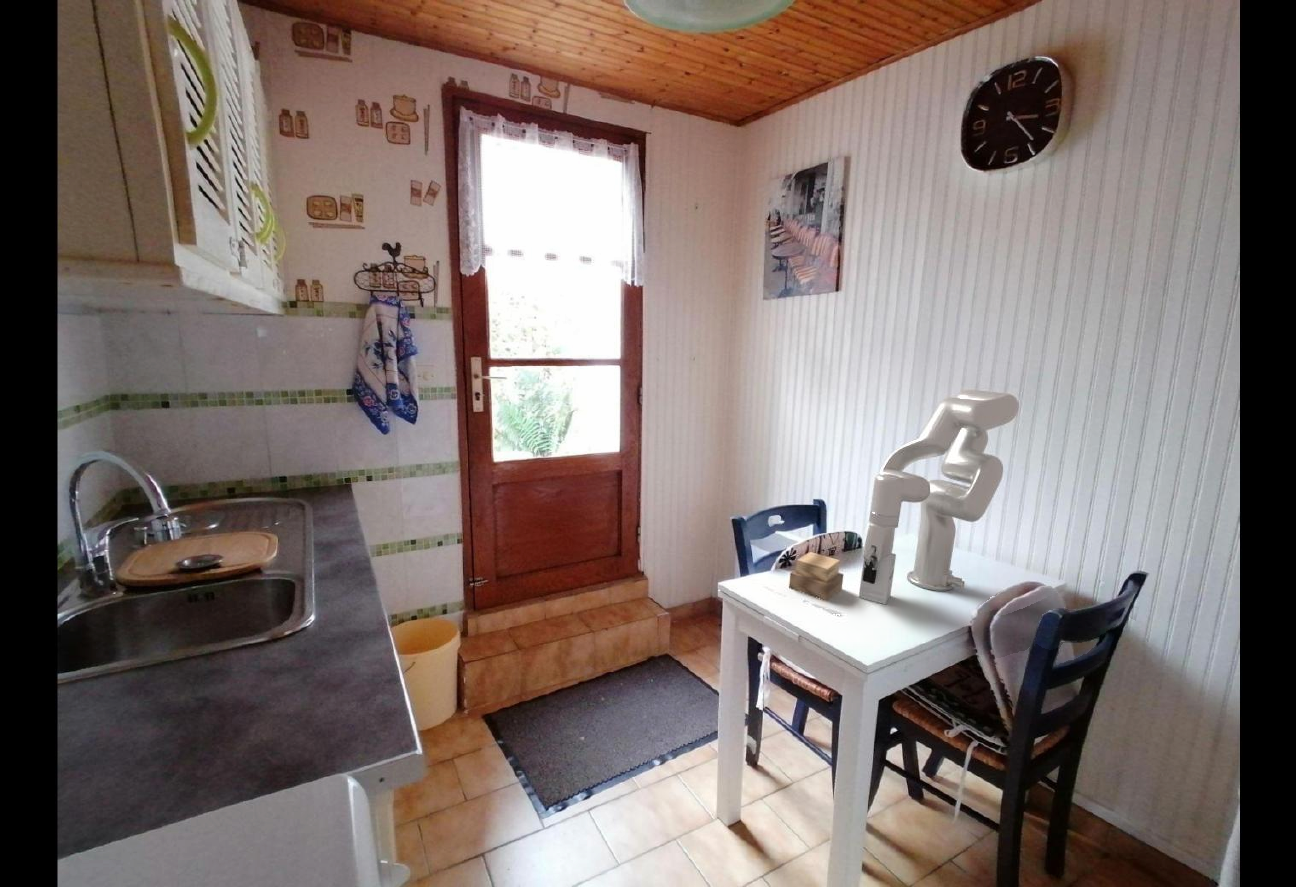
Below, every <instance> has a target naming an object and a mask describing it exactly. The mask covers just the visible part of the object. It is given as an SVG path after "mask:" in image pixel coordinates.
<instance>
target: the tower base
mask: <svg viewBox="0 0 1296 887" xmlns="http://www.w3.org/2000/svg"><path fill="white" fill-rule="evenodd" d="M843 581H844V573H842V572H838V574H837V575H836V576H834V577H833V578H832V579H830V580H829V581H828V582H827V583H825V582H822V581H819V580H816V579H813V578H809V577H806V576H803V575H800V574H797V573H796V569H795V570H793V571H791V572H790V573H789V584H788V589H790V588H791V590H793V589H794V591H797V592H799V591H801V592H800V593H802V592H804V593H803V594H805V595H807V594H808V596H811V597H813V596H814V598H816V597H817V598H816V599H819V598H820V599H819V600H821V599H822V600H821V601H825V602H826V601H827V600H828V598H829V597H830V598H831V597H833V596H834V595H836V594H837V593H838V592H840V591H841V590H842V589H843ZM837 591H838V592H837ZM836 592H837V593H836ZM835 593H836V594H835ZM830 598H829V599H830Z"/></svg>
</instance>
